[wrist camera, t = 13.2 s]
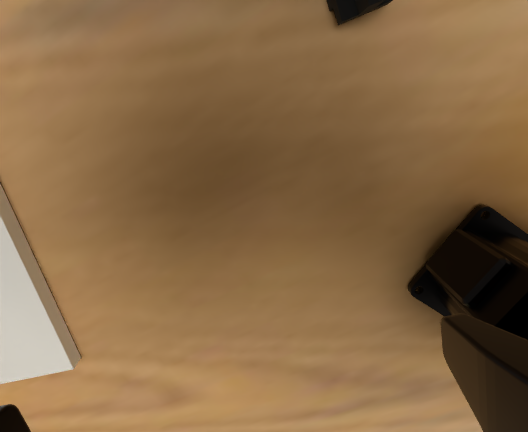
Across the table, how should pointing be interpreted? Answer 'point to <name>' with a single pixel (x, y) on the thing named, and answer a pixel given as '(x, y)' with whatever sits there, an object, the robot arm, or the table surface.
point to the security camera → (353, 8)
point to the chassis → (28, 310)
